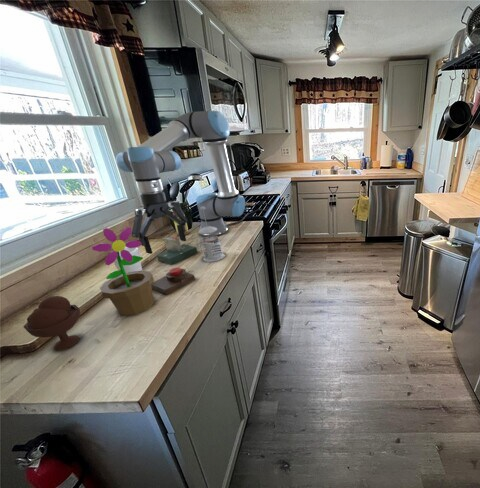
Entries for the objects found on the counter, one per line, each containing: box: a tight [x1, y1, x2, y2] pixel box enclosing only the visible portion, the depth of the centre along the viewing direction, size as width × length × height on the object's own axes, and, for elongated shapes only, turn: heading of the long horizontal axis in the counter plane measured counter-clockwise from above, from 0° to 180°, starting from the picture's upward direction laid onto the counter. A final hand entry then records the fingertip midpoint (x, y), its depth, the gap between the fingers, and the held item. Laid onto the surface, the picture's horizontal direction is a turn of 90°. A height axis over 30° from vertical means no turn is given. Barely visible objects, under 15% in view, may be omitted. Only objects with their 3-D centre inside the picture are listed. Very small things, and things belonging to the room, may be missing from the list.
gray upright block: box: [163, 236, 182, 253], centre depth 122 cm, size 6×2×7 cm, turn 77°
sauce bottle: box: [171, 200, 189, 236], centre depth 150 cm, size 6×6×20 cm
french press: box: [196, 207, 226, 263], centre depth 118 cm, size 10×12×25 cm
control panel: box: [156, 243, 199, 265], centre depth 125 cm, size 14×11×3 cm
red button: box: [168, 267, 182, 276], centre depth 102 cm, size 4×4×2 cm
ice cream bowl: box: [23, 295, 81, 352], centre depth 71 cm, size 11×11×15 cm
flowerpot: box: [91, 226, 155, 317], centre depth 84 cm, size 14×14×30 cm
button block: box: [151, 268, 196, 296], centre depth 102 cm, size 12×10×4 cm
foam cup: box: [110, 247, 143, 273], centre depth 104 cm, size 10×9×13 cm
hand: (167, 246), depth 101 cm, fingers open, 13 cm apart
